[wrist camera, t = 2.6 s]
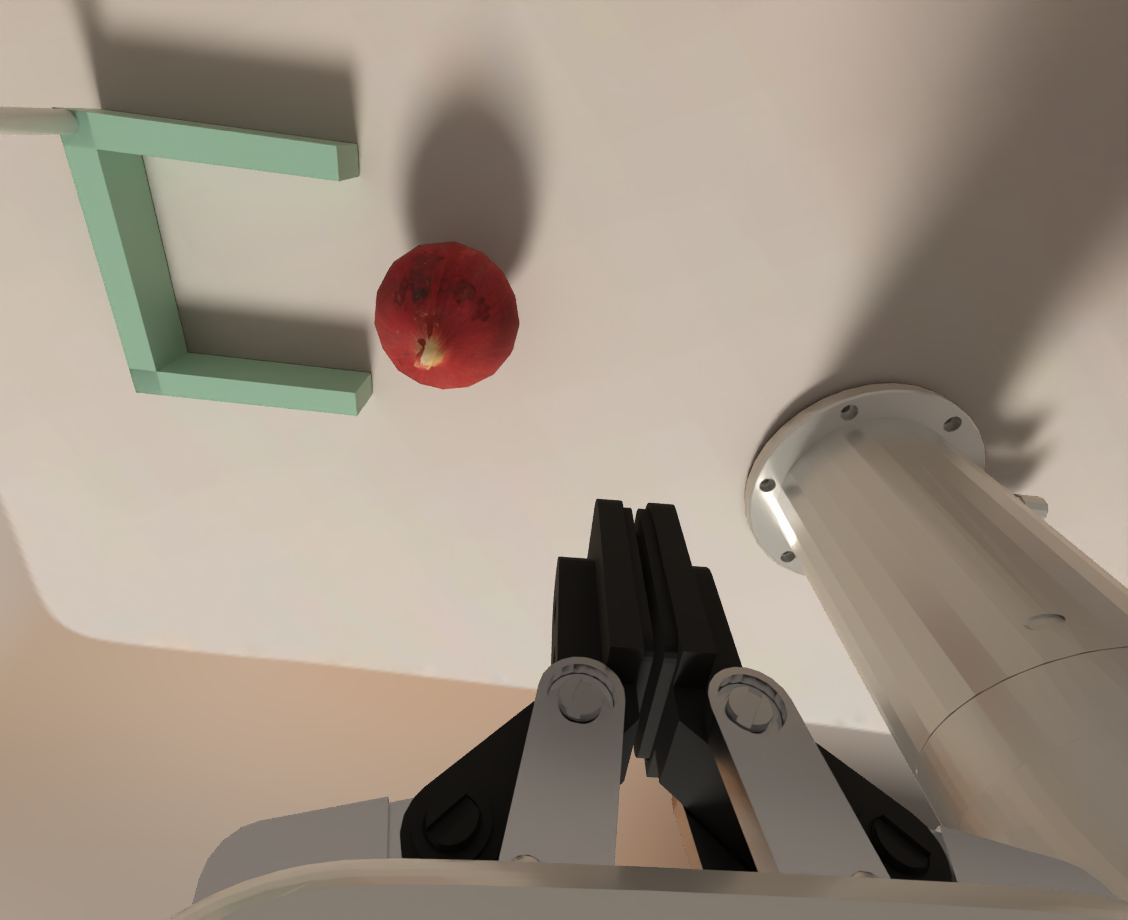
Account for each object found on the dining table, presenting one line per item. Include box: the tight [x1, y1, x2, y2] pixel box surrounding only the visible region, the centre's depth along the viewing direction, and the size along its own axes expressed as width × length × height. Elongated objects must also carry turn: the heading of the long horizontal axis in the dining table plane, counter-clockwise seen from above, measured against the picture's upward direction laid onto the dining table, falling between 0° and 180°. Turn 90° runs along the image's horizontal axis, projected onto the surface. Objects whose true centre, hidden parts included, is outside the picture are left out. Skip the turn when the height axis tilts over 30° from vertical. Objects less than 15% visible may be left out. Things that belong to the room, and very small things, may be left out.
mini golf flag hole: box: [0, 107, 372, 416], centre depth 20 cm, size 10×11×14 cm
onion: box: [375, 242, 519, 389], centre depth 23 cm, size 6×6×8 cm
